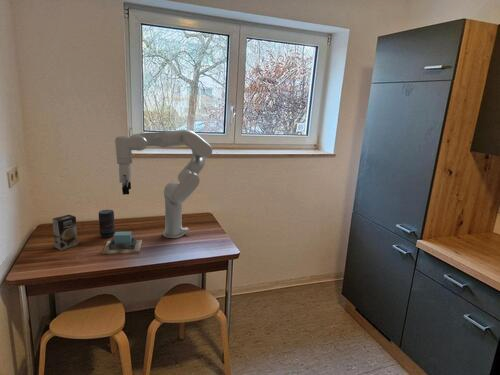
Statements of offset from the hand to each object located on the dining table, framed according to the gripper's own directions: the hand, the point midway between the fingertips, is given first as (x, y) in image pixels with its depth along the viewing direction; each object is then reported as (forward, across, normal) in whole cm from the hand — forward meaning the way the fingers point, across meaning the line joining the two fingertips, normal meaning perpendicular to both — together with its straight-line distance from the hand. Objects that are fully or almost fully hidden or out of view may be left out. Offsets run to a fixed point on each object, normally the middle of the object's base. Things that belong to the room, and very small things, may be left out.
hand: (127, 191), depth 177 cm
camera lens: (+29, -9, -14) cm, 33 cm away
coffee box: (+28, +2, -32) cm, 43 cm away
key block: (+28, +7, -3) cm, 29 cm away
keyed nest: (+29, +8, -3) cm, 30 cm away
